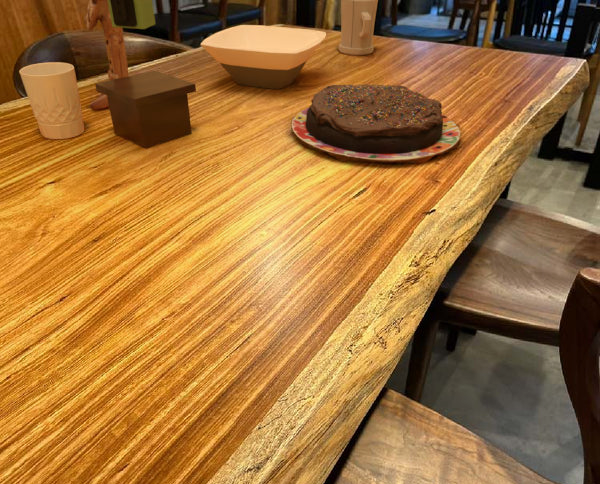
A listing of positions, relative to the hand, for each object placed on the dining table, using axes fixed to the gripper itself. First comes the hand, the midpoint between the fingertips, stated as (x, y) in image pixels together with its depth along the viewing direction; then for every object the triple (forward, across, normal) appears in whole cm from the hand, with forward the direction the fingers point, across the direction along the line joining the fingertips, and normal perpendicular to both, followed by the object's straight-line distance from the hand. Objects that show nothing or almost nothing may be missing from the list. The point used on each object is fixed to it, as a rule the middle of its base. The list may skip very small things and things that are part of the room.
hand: (133, 21), depth 77 cm
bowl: (+17, -37, +9) cm, 41 cm away
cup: (+17, -67, +24) cm, 73 cm away
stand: (+17, -2, -1) cm, 17 cm away
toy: (+1, 0, 0) cm, 1 cm away
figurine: (+17, -15, -15) cm, 27 cm away
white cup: (+17, +2, -15) cm, 23 cm away
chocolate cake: (+17, -11, +35) cm, 41 cm away
